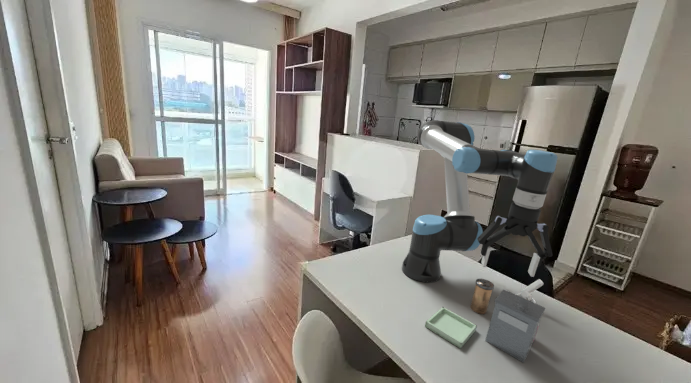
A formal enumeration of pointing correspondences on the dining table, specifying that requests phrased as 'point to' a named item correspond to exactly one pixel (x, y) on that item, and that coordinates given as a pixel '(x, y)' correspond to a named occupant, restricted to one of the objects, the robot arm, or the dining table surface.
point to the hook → (530, 290)
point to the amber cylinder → (481, 296)
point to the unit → (514, 324)
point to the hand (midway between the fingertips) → (506, 269)
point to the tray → (451, 327)
